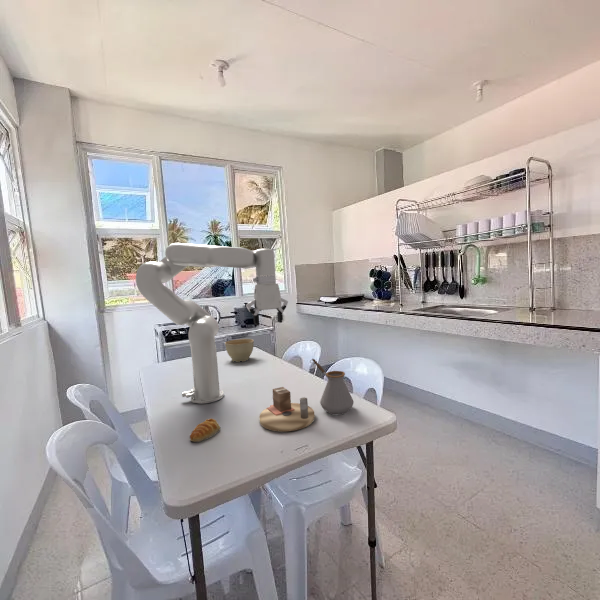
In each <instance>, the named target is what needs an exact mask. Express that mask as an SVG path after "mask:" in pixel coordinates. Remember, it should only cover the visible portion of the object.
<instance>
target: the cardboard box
mask: <svg viewBox="0 0 600 600" xmlns="http://www.w3.org/2000/svg"><path fill="white" fill-rule="evenodd" d="M272 399H273V401H272V402H273V404H272V405H273V406H274V407H275V408H276V409H278V410H279V411H280V412H282V411H286V410H290V409H291V403H292V401H291V399H292V398H291V391H290V390H289V389H287V388H286V387H284V386H281V387H276V388H272Z"/></svg>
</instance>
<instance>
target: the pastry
mask: <svg viewBox="0 0 600 600" xmlns="http://www.w3.org/2000/svg"><path fill="white" fill-rule="evenodd" d="M217 421H218V420H216V419H214V418H206V419H205V420H204V421H203V422H202V421H201V422H200V423H198V424H197V425H196V426H195V428H194V429H193V430H192V431H191V433H190V435H189V441H190V442H195V443H199V442H202V441H205V440H209V439H210V438H211V437H213V436H215V435H216V434H217V433H218V432H220V430H221V425H219V422H217Z"/></svg>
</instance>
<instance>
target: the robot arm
mask: <svg viewBox="0 0 600 600" xmlns="http://www.w3.org/2000/svg"><path fill="white" fill-rule="evenodd" d="M164 252H165V253H164V254H165V257H163V258H162V259H161V260H159V261H147V262H144V263H142V264H141V265H140V266H139V267H138V268H137V271H136V273H135V274H136V275H135V284H136V287H137V289H138V291H139V293H140V294H141V296H143V298H145V300H147V301H148V302H149V303H150V304H152V305H153V306H154V307H155V308H156V309H157V310H158V311H160V312H161V313H162V314H163V315H164V316H166V317H167V318H168V319H169V320H171V322H172V323H174V324H176V325H177V326H185V325H186V326H188V327H189V329H188V335H187V336H188V342H189V346H190V353H191V363H192V364H191V365H192V374H193V375H192V376H193V386H192V389H190V390H188V391H187V390H186V391H182V392H181V397H182V398H185V397H186V399H187V398H188V399H189V398H190V402H192V403H194V404H202V405H203V404H210V403H216V402H217V401H219V400H221V399H222V398H224V396H225V394H224V391H223V390H221V389H220V380H219V366H218V364H219V363H218V356H217V355H218V354H217V352H218V351H217V346H216V338H215V337H216V336H217V334H218V333H219V330H220V329H219V328H220V327H219V323H218V321H217V320H216V318H215V317H214V316H212V315H211V314H210V313H209V312H207V311H206V310H205V309H204V308H203V307H202V306H200V305H199V304H198V303H197V302H195V301H194V300H191V299H182V298H181V297H180V296H178V294H176V293H175V292H173V291H172V290H171V289H170V288H169V287H168V286H165V283H167V282H169V281H170V280H172V279H173V278H174V277H176V276H177V275H178V274H180V273H181V272H182V271H183V270H185V269H186V268H187V267H200V268H216V267H217V268H218V267H221V268H235V269H246V270H247V269H253V268H255V277H254V278H252V281H253V283H255V284H254V293H253V299H252V300H251V301H249V302H248V303H246V304H245V306H246V308H247V310H248V312H249V313H251V314H252V315H253V323H254V325H255V326H260V315H259V313H260V311H267V310H276V311H277V312H276V315H277V317H276V318H277V322H278V323H280V324H282V323H283V317H284V316H283V314H284V311H285V309H286V308H287V306H288V303H289V301H288V300H287V299H284V298H282V296H281V291H280V286H279V283H277V281H276V268H275V267H276V260H275V252H274V249H272V248H258V249H256V250H251V249H248V248H245V247H235V246H223V245H222V246H220V245H212V244H210V245H209V244H195V243H184V242H183V243H181V242H174V243H170V244H169V245H168V246H167V247H166V248H165V251H164ZM253 305H254V306H253ZM252 306H253V307H254V309H253V308H252Z"/></svg>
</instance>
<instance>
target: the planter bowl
mask: <svg viewBox="0 0 600 600" xmlns="http://www.w3.org/2000/svg"><path fill="white" fill-rule="evenodd" d="M254 342H255V341H254V339H252V338H238V339H232V340H228V341H225V342H224V345H225V350H226V353H227V355H228V356H229V358H231V361H232V362H234V361H236V362H235V363H241V362H240V361H242V362H247V361H249V360H248V359H250V357H251V355H252V354H253V350H254ZM246 360H247V361H246Z"/></svg>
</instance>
